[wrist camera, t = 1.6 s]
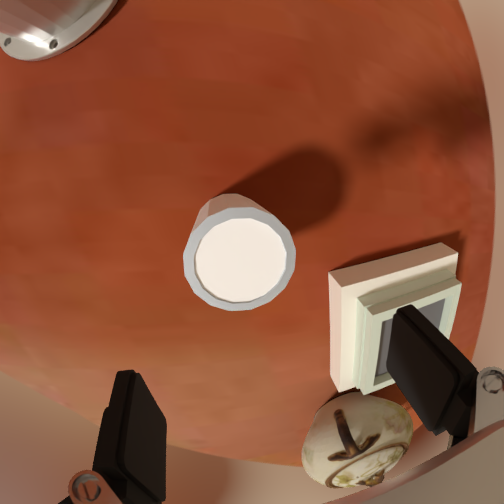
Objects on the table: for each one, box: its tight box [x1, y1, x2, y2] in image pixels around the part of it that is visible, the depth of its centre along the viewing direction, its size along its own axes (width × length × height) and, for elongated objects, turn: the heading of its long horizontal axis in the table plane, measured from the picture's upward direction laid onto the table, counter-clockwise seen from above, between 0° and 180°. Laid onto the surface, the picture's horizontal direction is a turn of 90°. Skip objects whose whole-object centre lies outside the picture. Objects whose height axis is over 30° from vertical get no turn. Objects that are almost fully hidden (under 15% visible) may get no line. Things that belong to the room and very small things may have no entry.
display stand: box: [328, 242, 462, 395], centre depth 28 cm, size 14×14×6 cm
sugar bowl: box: [302, 392, 413, 488], centre depth 30 cm, size 20×15×15 cm
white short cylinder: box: [183, 194, 296, 311], centre depth 21 cm, size 7×7×7 cm
